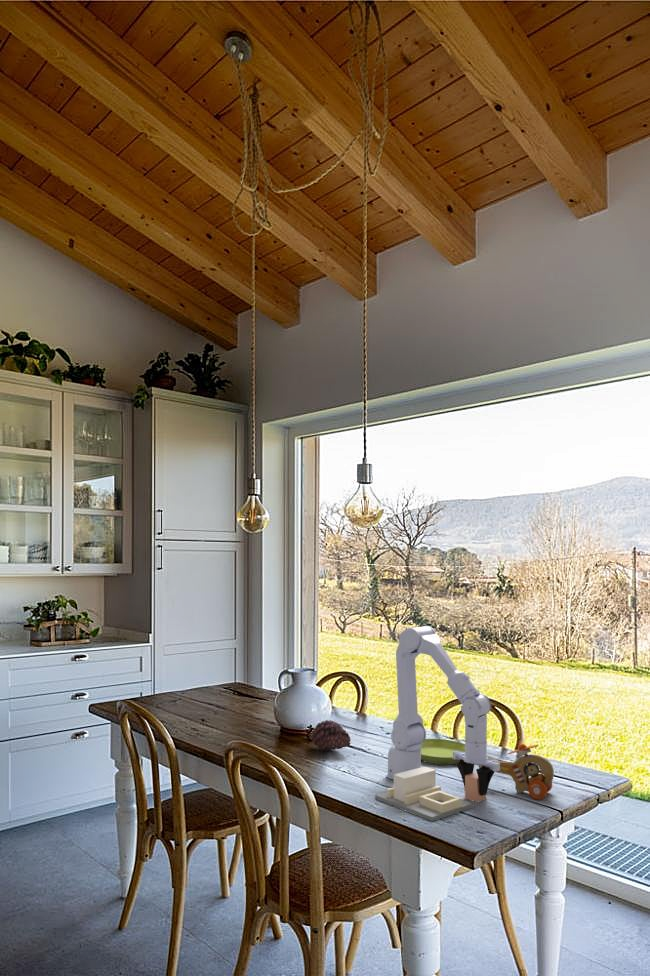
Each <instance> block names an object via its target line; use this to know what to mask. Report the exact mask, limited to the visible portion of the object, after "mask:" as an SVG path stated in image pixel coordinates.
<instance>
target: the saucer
mask: <svg viewBox="0 0 650 976" xmlns="http://www.w3.org/2000/svg"><path fill="white" fill-rule="evenodd" d="M454 751H461V752H465V743H463V742H459V741H456V740H451V739H443V738H442V739H441V738H426V739H425V741H424V742H423V743H422V747H421V760H422V761H421V762H424V761H425V762H424V763H428V762H429V764H433V763H435V764H434V765H455V763H456V764H457V763H459V761H460V760H458V759H456V760H455V759H453V752H454Z"/></svg>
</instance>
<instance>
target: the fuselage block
mask: <svg viewBox="0 0 650 976" xmlns="http://www.w3.org/2000/svg"><path fill="white" fill-rule="evenodd" d="M436 772H437V771H436V769H433V768H431V767H427V766H421V768H417V769H413V770H409V771H405V772H402V773H398V774H394V780H393V787H394V798H395V799H398V800H400V801H403V802H404V796H405V795H408V794H412V793H415V792H418V791H422V790H425V789H429V788H432V787H435V786H436V775H437V774H436Z"/></svg>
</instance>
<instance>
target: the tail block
mask: <svg viewBox="0 0 650 976" xmlns="http://www.w3.org/2000/svg"><path fill="white" fill-rule="evenodd" d="M464 798H465V799H466V800H469V799H470V800H469V801H472V800H473V802H475V801H476V803H478V801H479V802H481V800H482V801H484V799H485V800H487V794H486V795H483V796H481V795H480V793H479V779H478V774H477V772H473V773H471V774H468V775H465V788H464Z"/></svg>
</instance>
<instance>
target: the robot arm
mask: <svg viewBox="0 0 650 976" xmlns="http://www.w3.org/2000/svg"><path fill="white" fill-rule="evenodd" d="M398 641H399V642H398V645H397V649H396V651H395V659H396V660H395V661H396V663H395V664H396V679H397V680H396V682H397V684H396V685H397V701H398V703H397V706H398V708H397V709H398V713H397V714H398V715H397V716H396V718H395V719H394V720H393V722H392V727H393V728H392V731H391V734H390V738H391V742H392V744H393V745H391V746H390V748H389V750H388V754H387V774H385V777H386V778H388V779H391V780H393V781H394V774H398V773H402V772H405V771H409V770H413V769H417V768H421V767H422V761H421V747H422V743H423V742H424V741H425V739H427V738H426V737H427V730H426V728H425V726H424V719H423V718H422V716H421V715H420V714H419V713H418V695H417V672H416V659H417V657H418V656H419V655H420V654H422V655H427V656H430V658H431V659H432V660H433V661H434V662H435V664H437V666H438V667H439V668H440V670H441V671H442V672H443V673H444V674H445V676H446V678H447V682H446V683H447V686H449V688H450V690H451V691H452V693H453V694H454V695H455V697H456V698H457V700H458V701H459V702H460V704H461V706H460V710H461V712H462V714H463V717H464V722H465V725H464V728H465V731H464V735H465V736H464V737H465V739H464V740H465V741H464V744H465V752H461V751H454V752H453V759H455V760H456V759H458V760H460V761H459V763H456V767H457V769H458V772H459V773H460V777H461V778H462V783H463V787H464V789H465V775H468V774H471V773H474V770H475V766H478V768H476V773H477V774H478V779H479V793H480V795H481V796H483V795H486V796H487V792H488V789H489V786H490V782H491V780H492V777H493V775H494V774H495V773H497V772H496V771H500V763H498V762H496V761H497V760H496V761H494V760H492V759H490V758H488V757H487V756H488V754H487V751H488V750H487V749H488V747H487V745H488V740H487V739H488V737H487V735H488V730H487V729H488V714H489V713H490V712H491V708H492V704H491V701H490V699H489V697H488V696H487V695H486V694H484V693H481V692H480V690H479V689H477V688H476V687H475V684H474V683H473V682H472V681H471V679H470V676H469V674H468V673H465V671H461V670H458V668H457V667H456V665H455V663H453V660H452V658H450V656H449V654H448V653H447V651H446V649H445V647H444V646H443V645H442V643H441V638H440V636H439V635H438V634H437V632H436V631H435V629H434V628H433V627H431V626H429V625H423V626H417V627H407V628H405V629H404V630H403V631H402V632H401V633H399V635H398ZM479 766H481V767H482V768H479Z"/></svg>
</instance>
